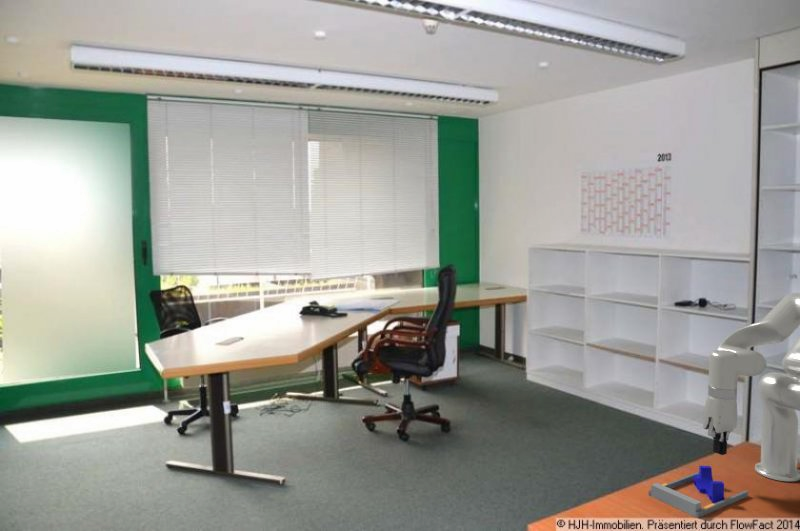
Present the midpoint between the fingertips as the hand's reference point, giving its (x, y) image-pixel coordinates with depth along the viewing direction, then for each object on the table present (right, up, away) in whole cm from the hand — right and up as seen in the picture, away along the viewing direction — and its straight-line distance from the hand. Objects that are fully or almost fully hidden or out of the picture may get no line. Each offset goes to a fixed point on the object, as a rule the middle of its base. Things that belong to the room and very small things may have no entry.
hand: (719, 452), depth 178 cm
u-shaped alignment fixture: (-8, -11, -4) cm, 15 cm away
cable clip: (-5, -11, -3) cm, 13 cm away
